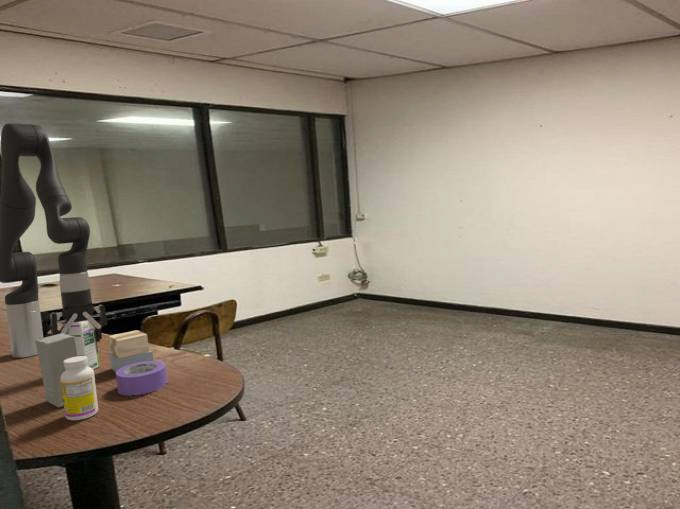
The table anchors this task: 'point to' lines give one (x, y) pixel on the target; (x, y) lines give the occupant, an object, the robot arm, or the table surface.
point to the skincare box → (54, 363)
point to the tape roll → (141, 378)
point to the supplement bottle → (78, 389)
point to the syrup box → (85, 341)
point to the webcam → (46, 324)
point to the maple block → (128, 344)
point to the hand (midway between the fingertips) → (81, 344)
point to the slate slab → (129, 360)
